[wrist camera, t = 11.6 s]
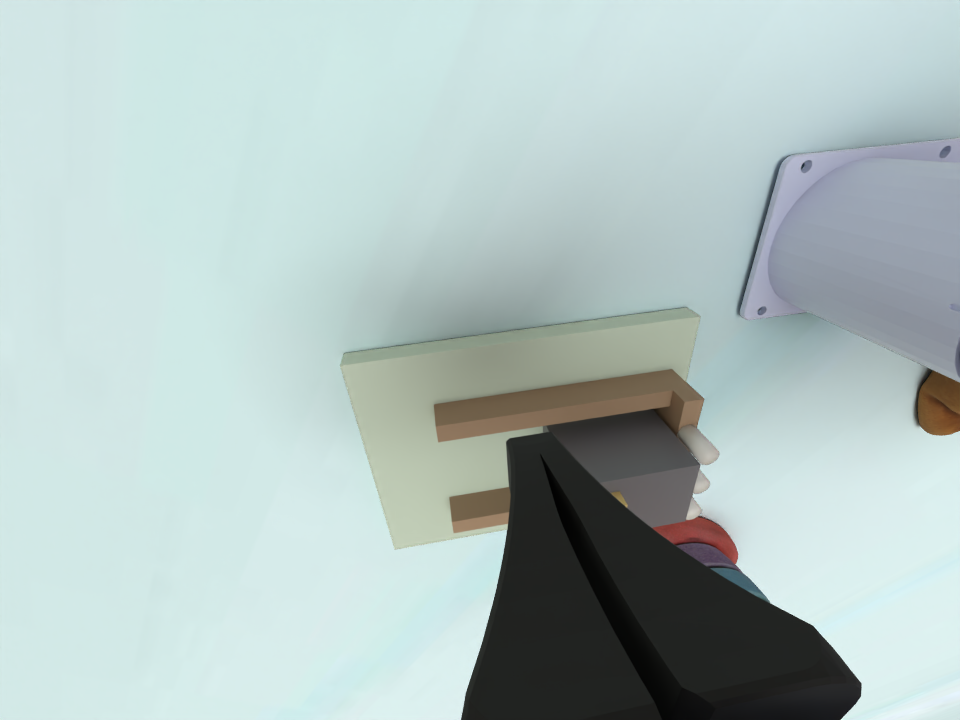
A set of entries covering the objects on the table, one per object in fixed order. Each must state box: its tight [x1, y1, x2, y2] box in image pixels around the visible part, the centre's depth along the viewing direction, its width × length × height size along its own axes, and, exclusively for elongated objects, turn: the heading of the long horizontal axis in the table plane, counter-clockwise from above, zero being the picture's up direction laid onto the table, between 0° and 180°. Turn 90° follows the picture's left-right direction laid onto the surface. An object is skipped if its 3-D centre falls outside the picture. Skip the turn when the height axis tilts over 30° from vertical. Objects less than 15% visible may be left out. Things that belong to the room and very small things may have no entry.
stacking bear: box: [653, 517, 770, 603], centre depth 25 cm, size 11×10×18 cm
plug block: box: [543, 409, 700, 528], centre depth 21 cm, size 6×4×6 cm, turn 96°
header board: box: [340, 307, 719, 550], centre depth 22 cm, size 18×14×6 cm
